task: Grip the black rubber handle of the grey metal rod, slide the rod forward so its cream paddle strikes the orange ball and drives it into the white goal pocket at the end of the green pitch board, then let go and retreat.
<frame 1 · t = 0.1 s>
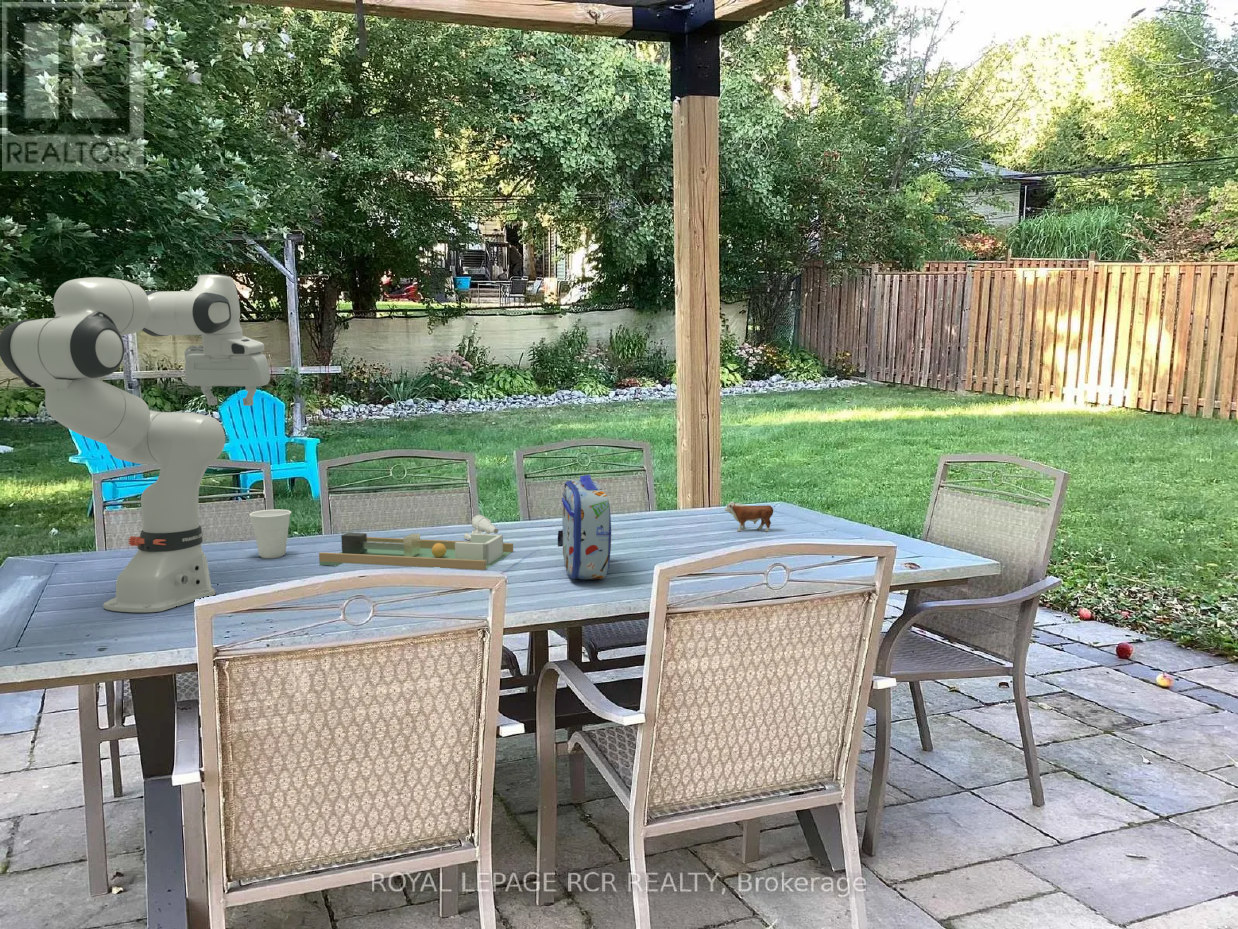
hand: (230, 405, 233), 39 cm above the table, tool pointing down, fingers open, 8 cm apart
kicker rod: (380, 543, 247), point 4 cm above the table, slide at 0.0 cm
cup: (272, 556, 252), on the table
lunch box: (584, 572, 233), on the table
pitch: (418, 560, 246), on the table
ball: (439, 557, 244), point 1 cm above the table, touching pitch
goal: (479, 563, 242), resting on pitch
bull figurine: (748, 531, 280), on the table
cream rounded piece: (481, 544, 265), on the table
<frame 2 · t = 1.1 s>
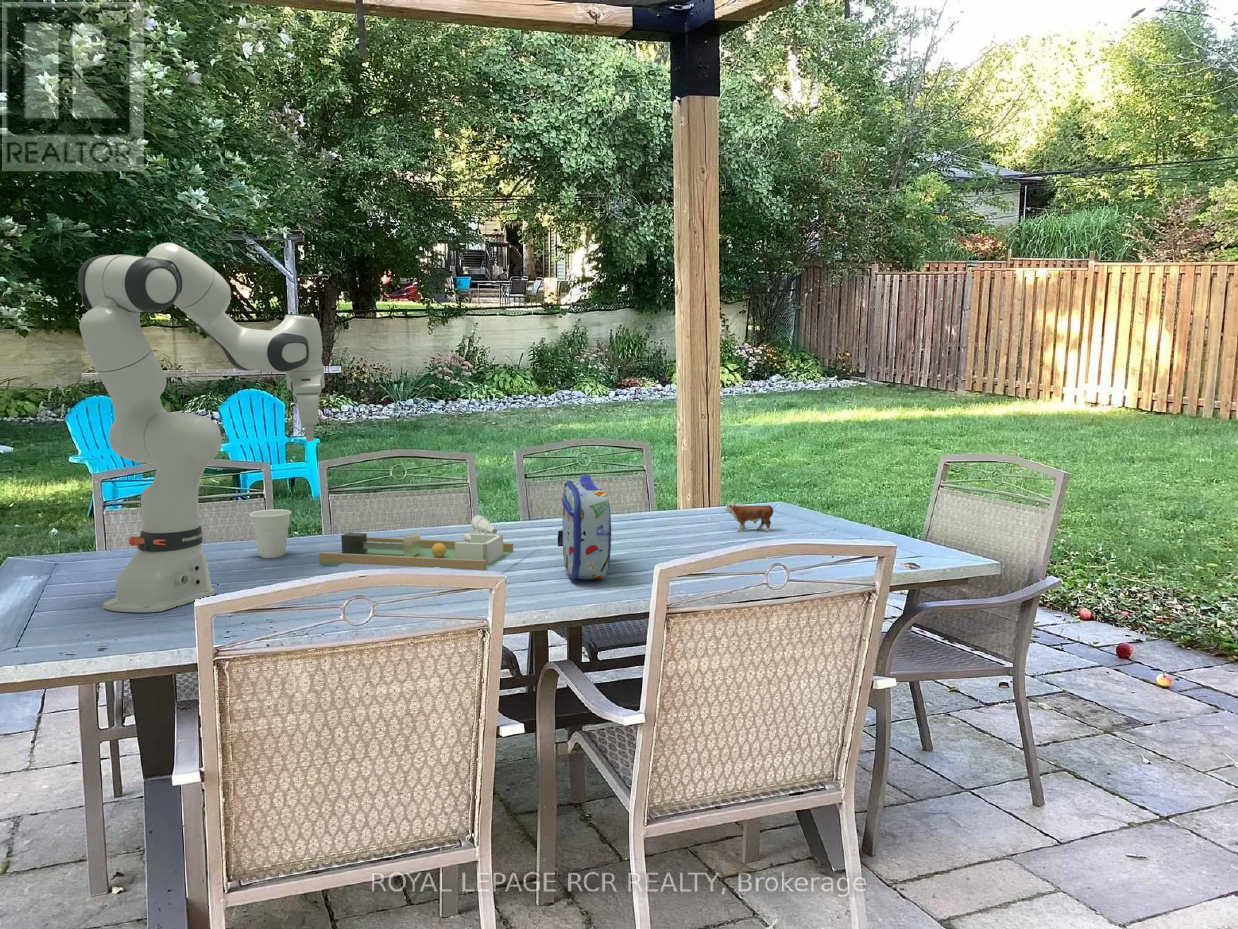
hand: (309, 437, 246), 30 cm above the table, tool pointing down, fingers open, 8 cm apart
nothing on the table moved.
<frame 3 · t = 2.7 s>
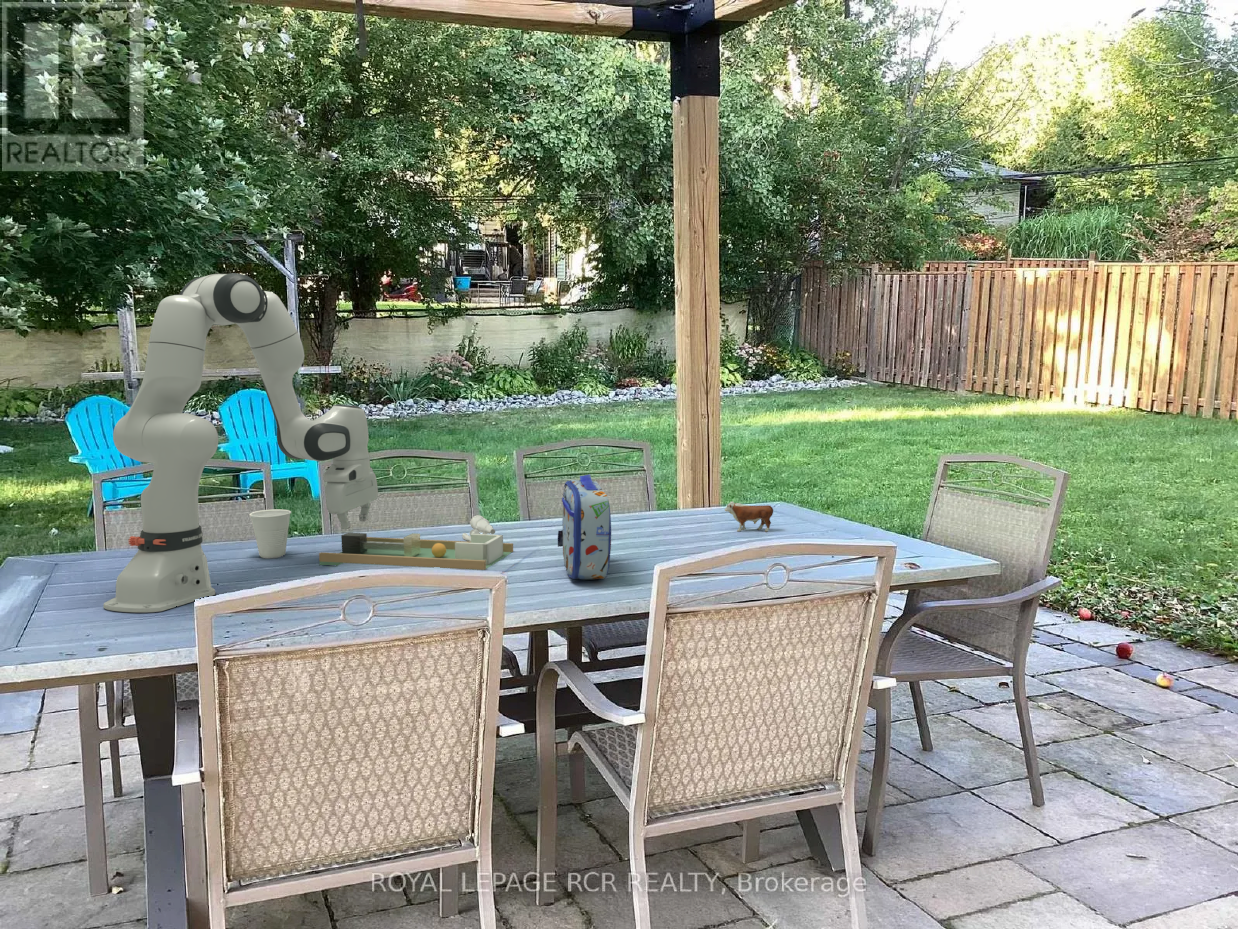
hand: (354, 524, 249), 8 cm above the table, tool pointing down, fingers open, 8 cm apart
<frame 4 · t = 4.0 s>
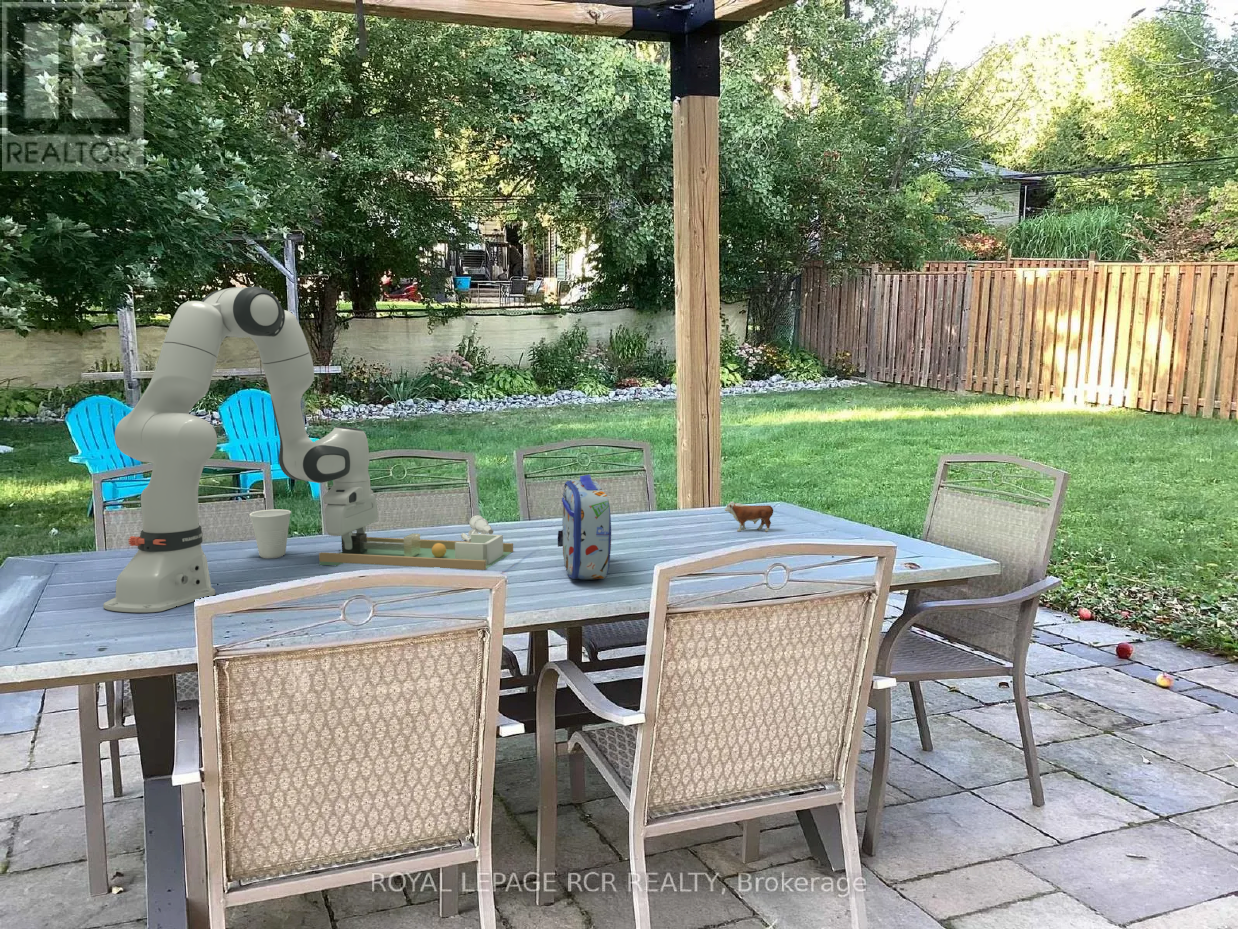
hand: (354, 546, 249), 3 cm above the table, tool pointing down, fingers closed on kicker rod, 3 cm apart
kicker rod: (380, 543, 247), point 4 cm above the table, slide at 0.0 cm, touching gripper
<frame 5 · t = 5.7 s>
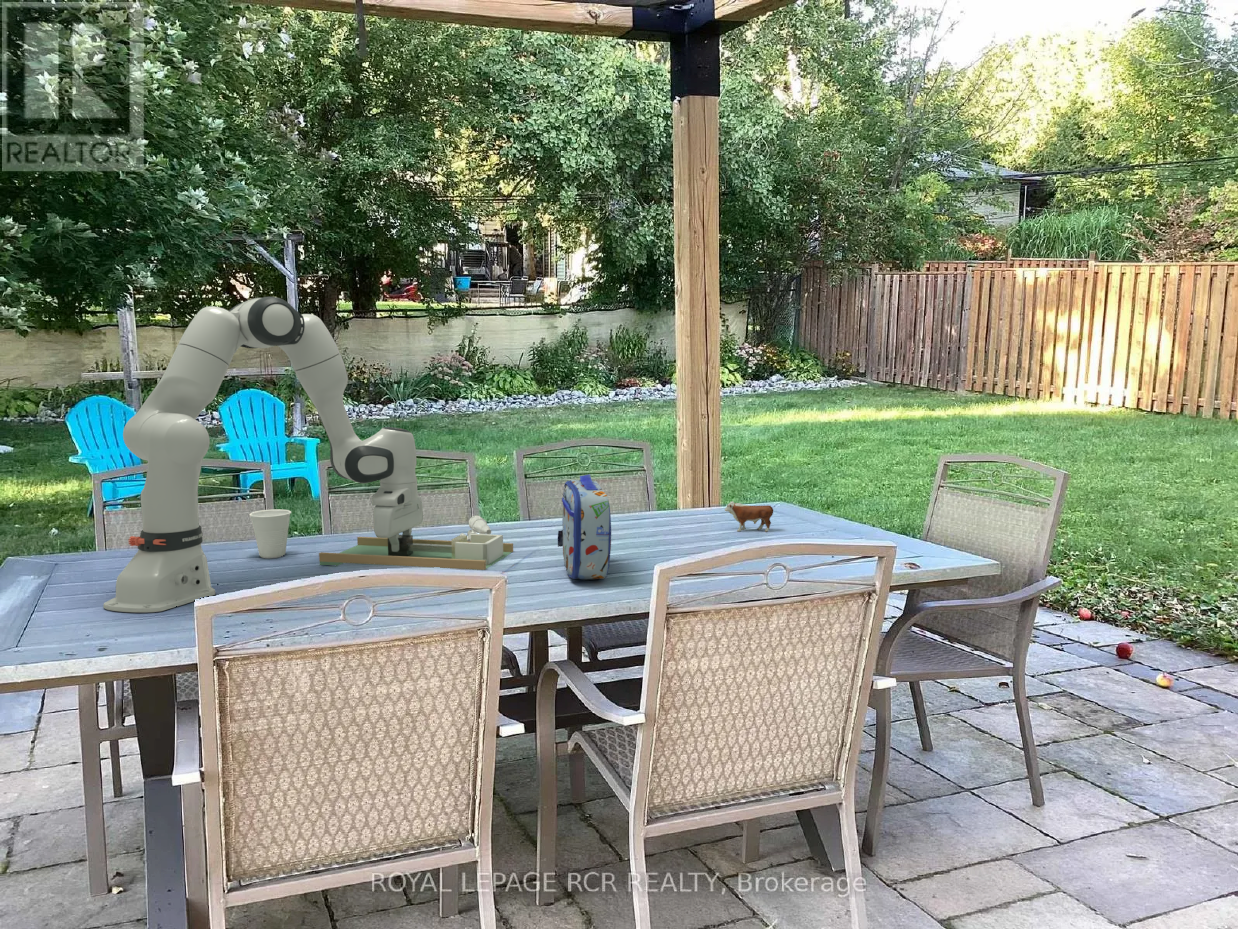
hand: (400, 549, 246), 3 cm above the table, tool pointing down, fingers closed on kicker rod, 3 cm apart
kicker rod: (426, 546, 245), point 4 cm above the table, slide at 12.4 cm, touching gripper
ball: (482, 558, 242), point 1 cm above the table, tilted 23°, touching pitch
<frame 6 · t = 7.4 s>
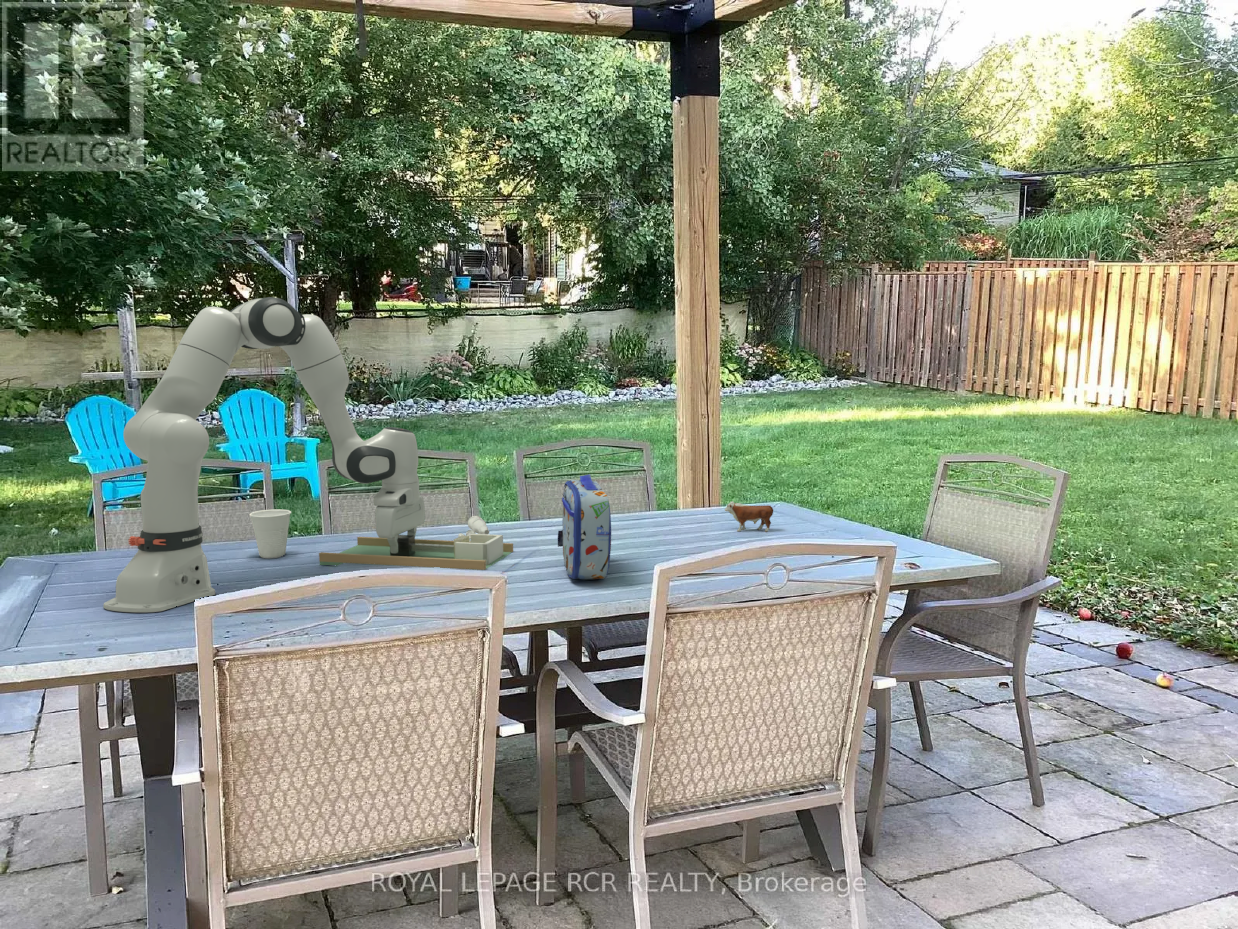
hand: (402, 549, 246), 3 cm above the table, tool pointing down, fingers open, 7 cm apart
kicker rod: (429, 546, 245), point 4 cm above the table, slide at 12.9 cm
ball: (479, 553, 242), point 2 cm above the table, tilted 76°, touching pitch
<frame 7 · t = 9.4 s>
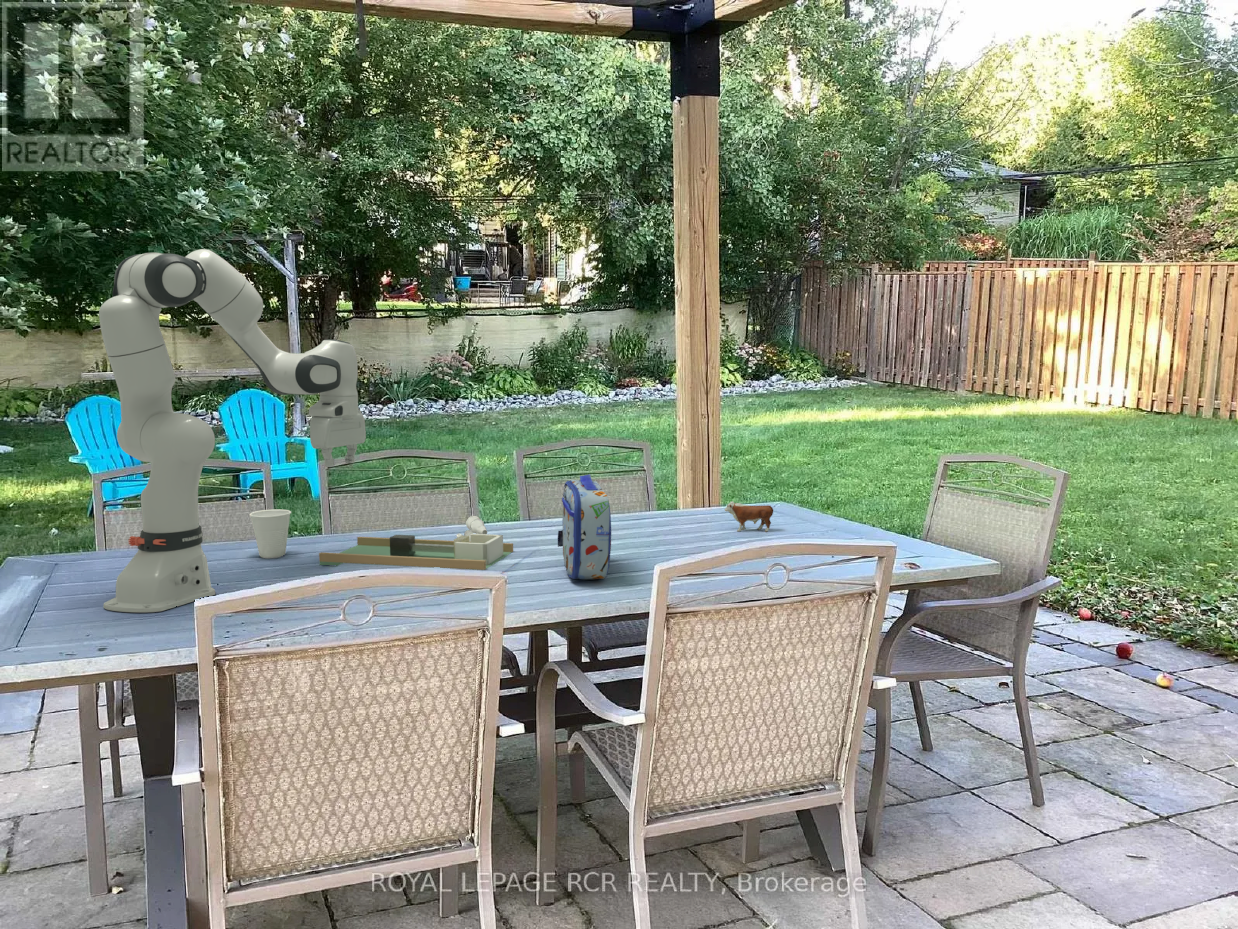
hand: (339, 464, 243), 24 cm above the table, tool pointing down, fingers open, 8 cm apart
ball: (480, 556, 242), point 2 cm above the table, tilted 56°, touching pitch
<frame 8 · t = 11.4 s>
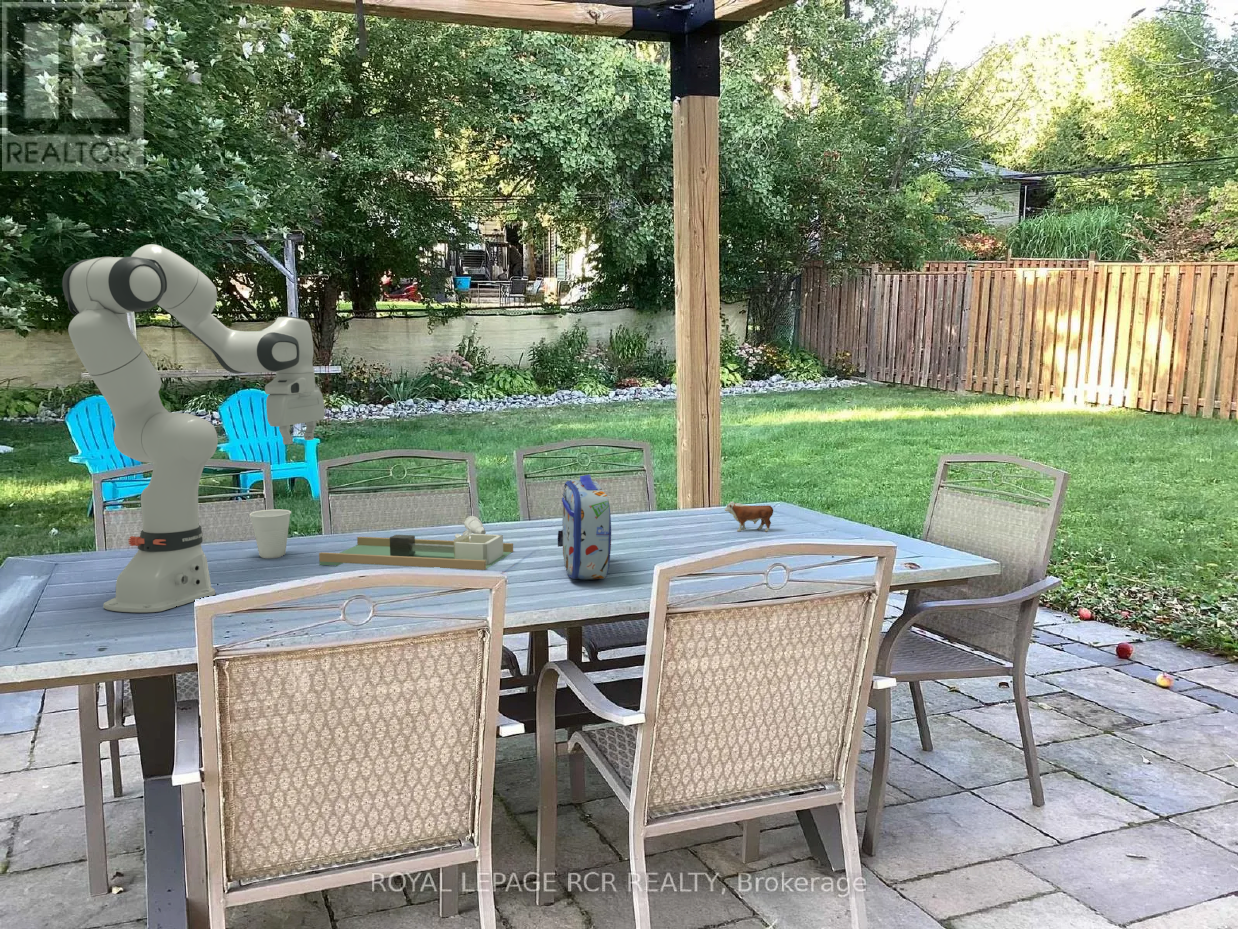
hand: (298, 442, 243), 29 cm above the table, tool pointing down, fingers open, 8 cm apart
ball: (481, 558, 242), point 1 cm above the table, tilted 36°, touching pitch
at the end: ball inside the target area (0.8 cm from its centre), point 1.3 cm above the table; kicker rod slide at 12.9 cm; the gripper is holding nothing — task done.
